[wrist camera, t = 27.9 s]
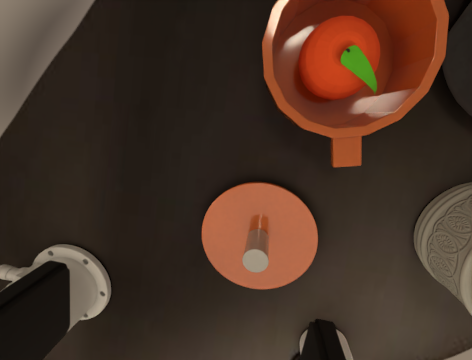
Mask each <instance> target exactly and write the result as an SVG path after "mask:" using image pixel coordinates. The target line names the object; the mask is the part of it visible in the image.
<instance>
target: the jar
mask: <svg viewBox="0 0 472 360" xmlns="http://www.w3.org/2000/svg"><path fill="white" fill-rule="evenodd" d="M414 246H415V250H416V253H417V255H418V257H419V258H420V260H421V262H422V264H423V266H424V267H425V268H426V270H427V271H428V272H429V273H430V274H431V275H432V276H433V277H434V278H435V279H436V280H437V281H438V282H439V283H441V284H442V285H444V286H445V287H446V288H447V289H448V290H449V291H450V292H451V293H452V294H453V295H454V296H455V297H456V298H457V299H458V300H459V301H460V302H461V303H462V304H464V305H465V307H466V308H467V310H468V311H469V313H470V314H471V315H472V182H469V183H465V184H461V185H458V186H456V187H453V188H451V189H449V190H447V191H445V192H443V193H442V194H440V195H439V196H437V197H436V198H435V199H434V200H432V201H431V202H430V203H429V204H428V205H427V207H426V208H425V209H424V210H423V212H422V213H421V215H420V217H419V218H418V221H417V223H416V226H415V230H414Z"/></svg>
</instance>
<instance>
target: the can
mask: <svg viewBox="0 0 472 360" xmlns="http://www.w3.org/2000/svg"><path fill="white" fill-rule="evenodd" d="M307 331H308V329H307V330H306V331H305V332H304V333H303V334H302V336H301V338H300V354H301V352H302V349H303V345H304V341H305V338H306V334H307ZM336 331H337V334H338V337H339V340H340V343H341V346H342V349H343V352H344V355H345V358H346V360H353V358H352V355H351V352H350V349H349V346H348V343H347V340H346V338H345V337H344V335H343V334H342V333H341V332H340V331H338V330H337V329H336Z"/></svg>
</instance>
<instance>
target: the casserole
mask: <svg viewBox="0 0 472 360" xmlns="http://www.w3.org/2000/svg"><path fill="white" fill-rule="evenodd" d="M442 68H443V72H444V76H445V79H446V82H447V85H448V88H449V89H450V91H451V93H452V94H453V96H454V98H455V99H456V101H457V103H458V104H459V105H460V106H461V107H462V108H463V109H464V110H465V111H466V112H467V113H468V114H469V115H470V116H472V1H471V2H470V4H469V5H468V6H467V8H466V9H465V11H464V12H463V13H462V15H461V16H460V17H459V19H458V20H457V22H456V23H455V24H454V26H453V27H452V28H451V30H450V31H449V33H448V34H447V45H446V55H445V58H444V60H443V63H442Z"/></svg>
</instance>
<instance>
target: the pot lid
mask: <svg viewBox="0 0 472 360" xmlns="http://www.w3.org/2000/svg"><path fill="white" fill-rule="evenodd" d="M202 242H203V247H204V250H205V253H206V255H207V257H208V259H209V260H210V262H211V263H212V265H213V266H214V267H215V268H216V270H217V271H218V272H219V273H221V274H222V275H223V276H224V277H226V278H227V279H229V280H230V281H232V282H234V283H236V284H238V285H241V286H244V287H248V288H253V289H272V288H278V287H281V286H284V285H286V284H289V283H291V282H292V281H294V280H296V279H297V278H299V277H300V276H301V275H302V274H303V273H304V272H305V271H306V270H307V269H308V267H309V266H310V265H311V263H312V261H313V259H314V257H315V254H316V251H317V246H318V230H317V226H316V222H315V220H314V218H313V215H312V213H311V212H310V210H309V208H308V207H307V206H306V204H305V203H304V202H303V201H302V200H301V199H300V198H299V197H298V196H297V195H295V194H294V193H293V192H291V191H289V190H287V189H286V188H284V187H281V186H279V185H276V184H272V183H266V182H248V183H243V184H239V185H236V186H234V187H232V188H230V189H228V190H226V191H225V192H223V193H222V194H221V195H219V196H218V197H217V198H216V199H215V200H214V202H213V203H212V204H211V206H210V207H209V209H208V211H207V212H206V214H205V217H204V220H203V225H202Z"/></svg>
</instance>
